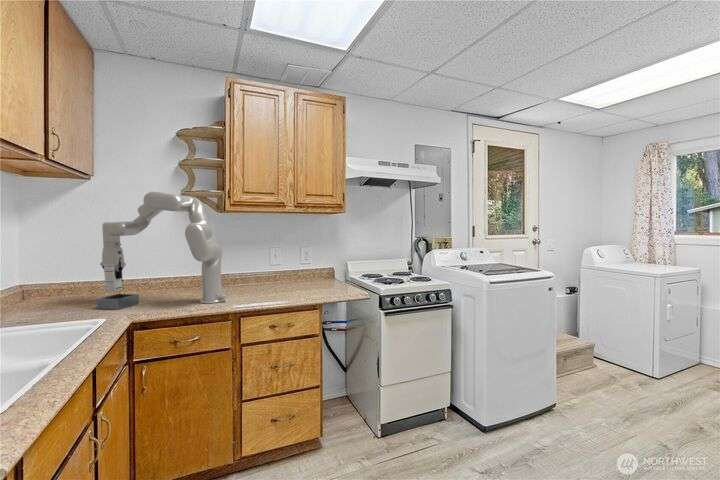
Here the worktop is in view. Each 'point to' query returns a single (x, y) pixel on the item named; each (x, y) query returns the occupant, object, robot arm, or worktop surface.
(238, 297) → the worktop surface
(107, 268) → the syrup box
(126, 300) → the grey square tray
